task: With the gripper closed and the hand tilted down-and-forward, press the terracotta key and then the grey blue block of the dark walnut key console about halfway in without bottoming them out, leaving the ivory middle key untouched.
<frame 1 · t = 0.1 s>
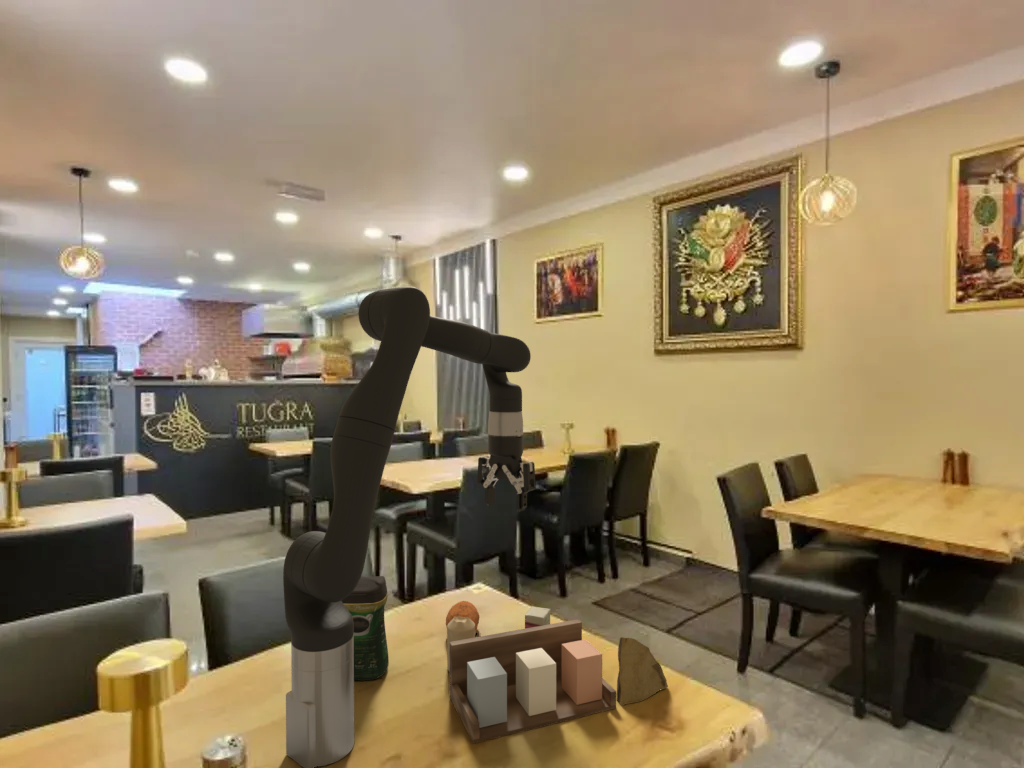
hand: (505, 507, 125), 29 cm above the table, tool pointing down, fingers open, 8 cm apart
rock: (642, 694, 105), on the table
coffee jar: (362, 673, 113), on the table
key ivory: (535, 680, 101), point 5 cm above the table, slide at 0.0 cm
key console: (531, 702, 102), on the table
grey blue block: (486, 691, 97), point 5 cm above the table, slide at 0.0 cm
key terracotta: (581, 670, 104), point 5 cm above the table, slide at 0.0 cm
candle: (461, 669, 114), on the table
potato: (462, 635, 129), on the table
small box: (537, 649, 122), on the table
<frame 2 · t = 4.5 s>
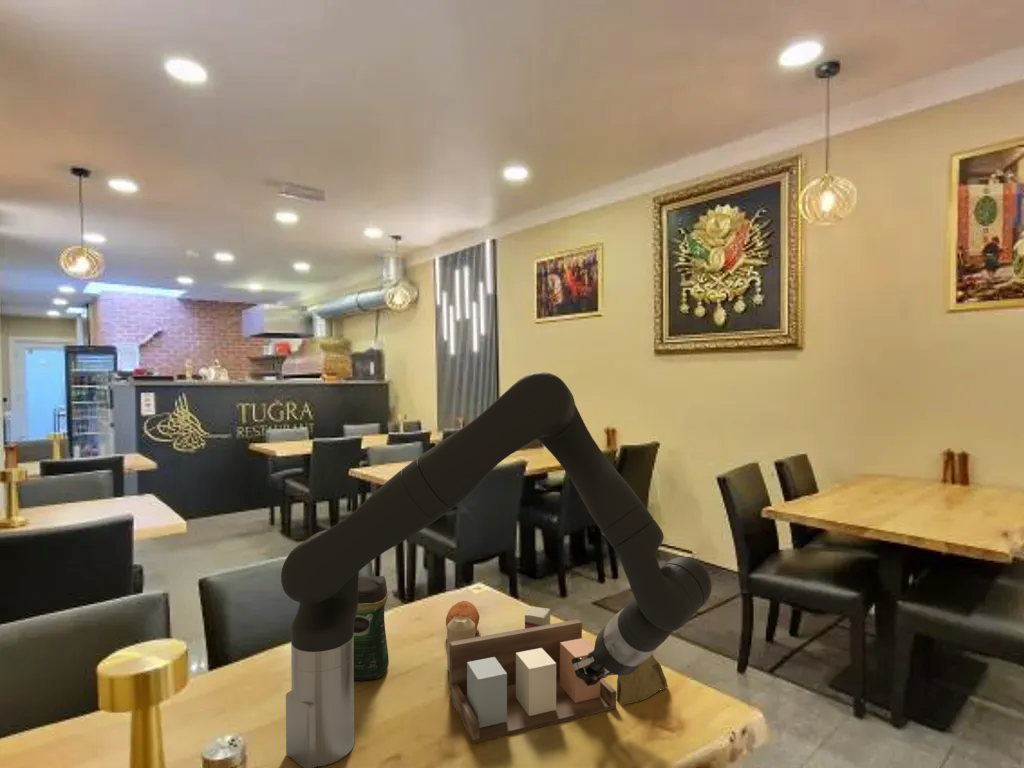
hand: (588, 679, 101), 5 cm above the table, tool tilted 45°, fingers closed
key terracotta: (579, 669, 104), point 5 cm above the table, slide at 0.7 cm, touching gripper
everything else where it was.
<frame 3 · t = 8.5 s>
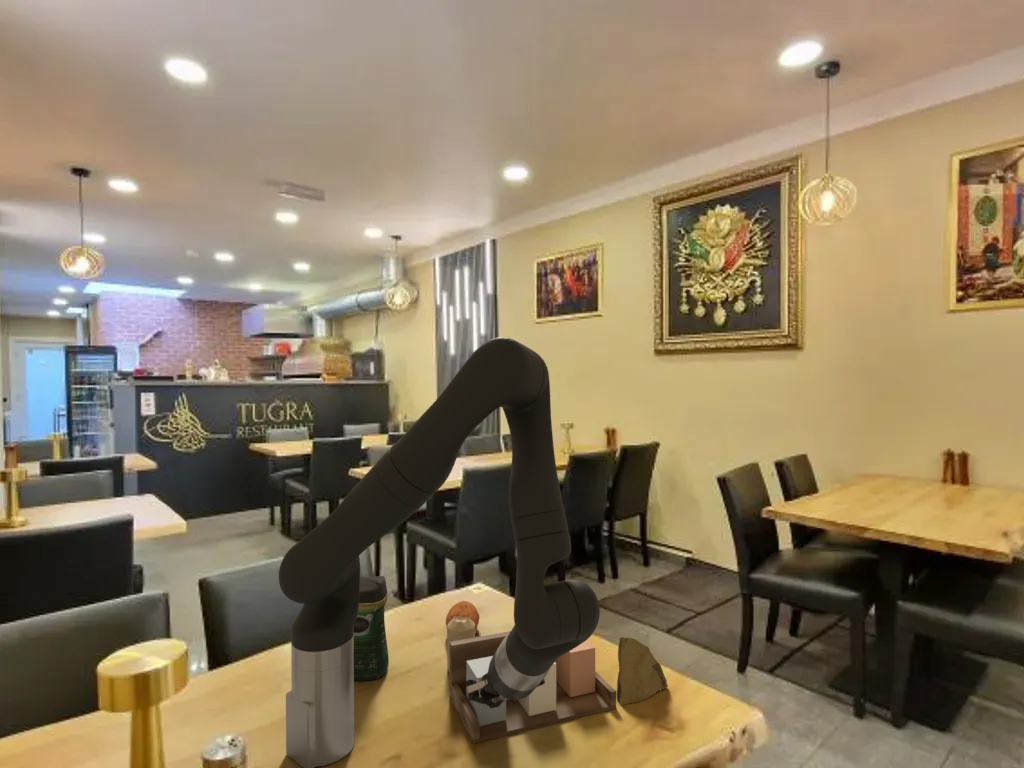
hand: (492, 701, 94), 5 cm above the table, tool tilted 45°, fingers closed
grey blue block: (485, 689, 98), point 5 cm above the table, slide at 0.4 cm, touching gripper
key terracotta: (575, 664, 106), point 5 cm above the table, slide at 2.5 cm
everything else where it was.
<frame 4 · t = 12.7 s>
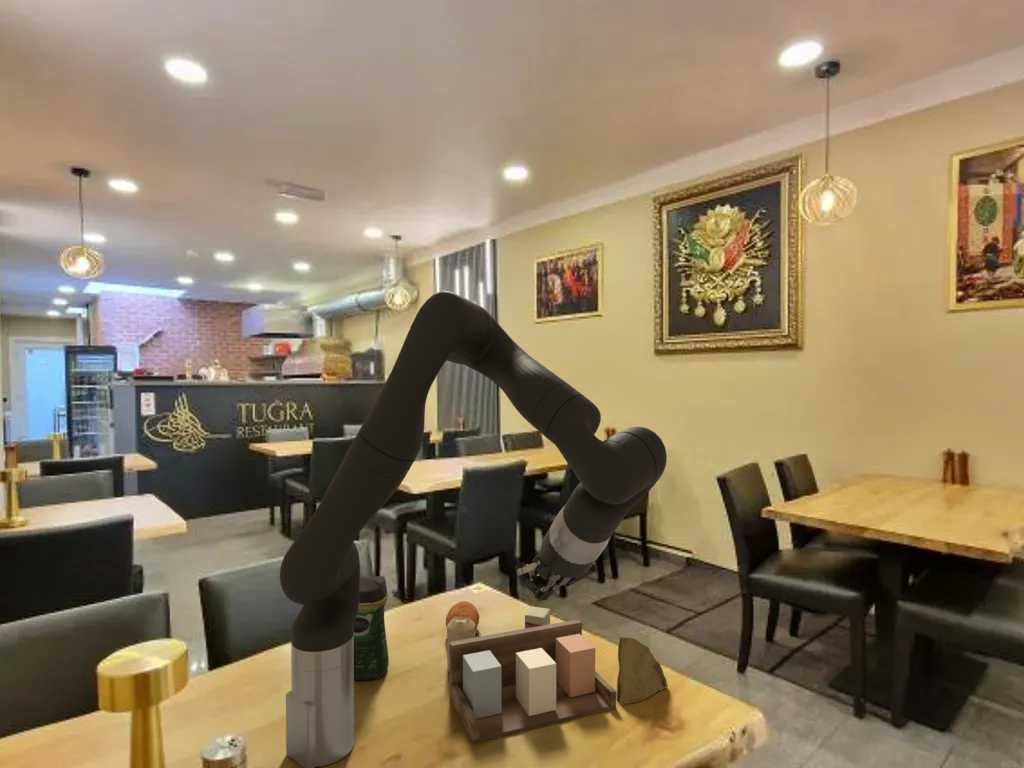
hand: (539, 594, 90), 24 cm above the table, tool tilted 45°, fingers closed
grey blue block: (481, 683, 100), point 5 cm above the table, slide at 2.6 cm
everything else where it was.
at the end: key terracotta slide at 2.5 cm; grey blue block slide at 2.6 cm; key ivory slide at 0.0 cm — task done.
